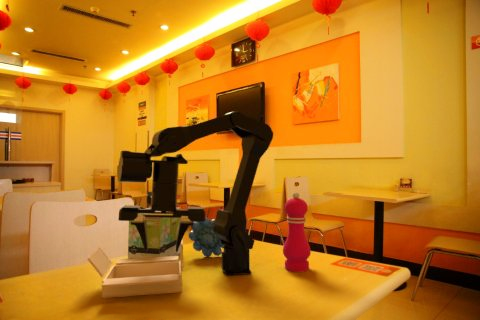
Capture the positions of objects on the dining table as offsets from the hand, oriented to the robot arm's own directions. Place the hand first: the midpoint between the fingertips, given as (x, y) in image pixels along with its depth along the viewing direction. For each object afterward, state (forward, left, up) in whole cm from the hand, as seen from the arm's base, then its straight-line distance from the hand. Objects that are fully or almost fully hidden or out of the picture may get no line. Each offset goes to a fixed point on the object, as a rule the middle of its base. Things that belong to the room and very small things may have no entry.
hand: (161, 251), depth 73 cm
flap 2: (-4, 0, -1) cm, 4 cm away
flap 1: (+13, 0, -1) cm, 13 cm away
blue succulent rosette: (-12, -20, -8) cm, 25 cm away
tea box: (+3, -22, -8) cm, 23 cm away
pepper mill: (-34, -5, -8) cm, 36 cm away
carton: (+4, 0, -8) cm, 8 cm away
